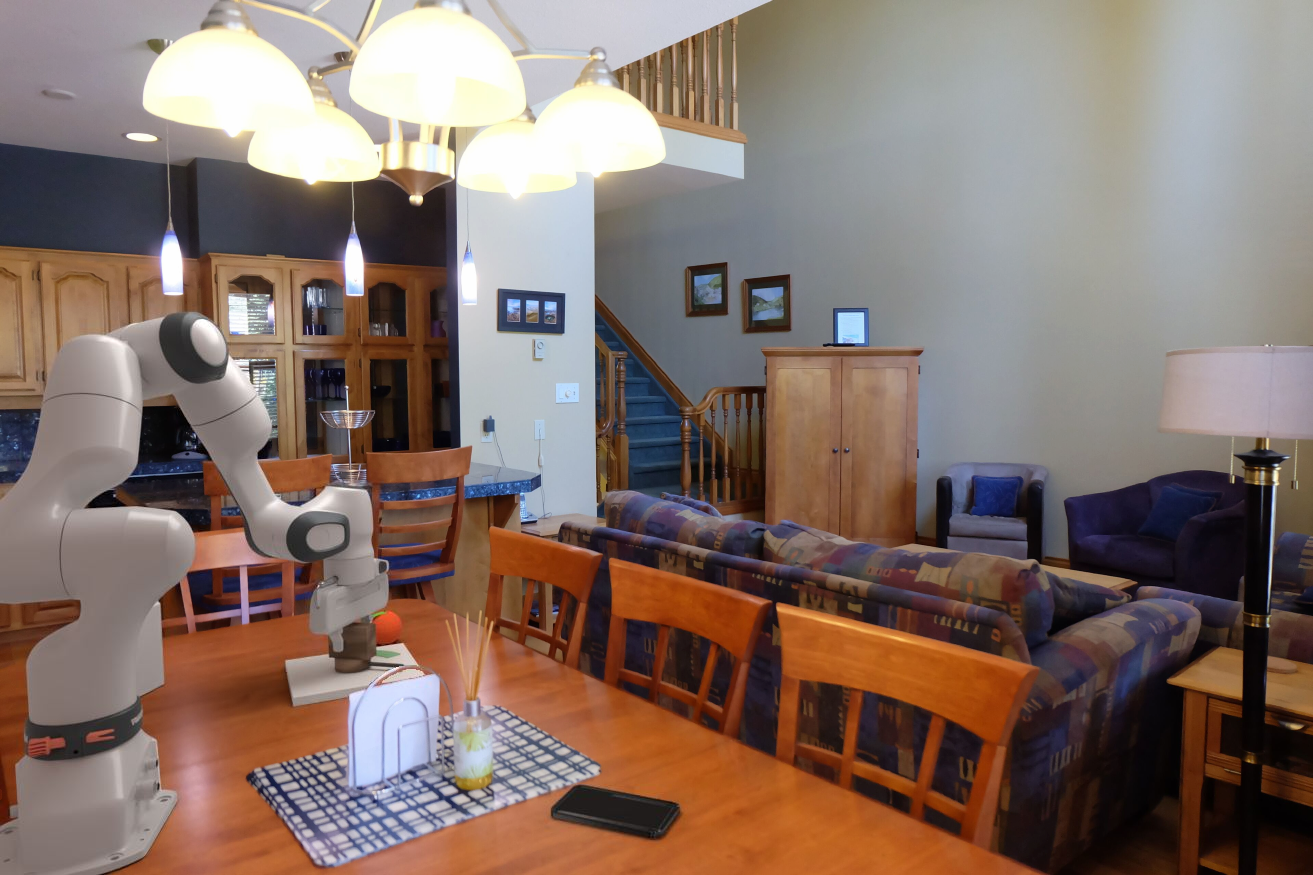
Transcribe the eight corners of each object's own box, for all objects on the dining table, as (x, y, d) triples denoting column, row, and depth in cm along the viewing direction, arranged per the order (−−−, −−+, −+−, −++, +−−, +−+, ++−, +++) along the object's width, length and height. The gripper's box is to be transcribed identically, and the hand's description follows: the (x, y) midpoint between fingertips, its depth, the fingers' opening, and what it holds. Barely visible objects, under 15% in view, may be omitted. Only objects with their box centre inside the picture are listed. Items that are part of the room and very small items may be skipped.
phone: (659, 834, 98) (547, 810, 103) (659, 843, 98) (547, 819, 103) (682, 802, 105) (577, 782, 111) (682, 811, 105) (577, 790, 111)
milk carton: (164, 684, 152) (159, 581, 151) (136, 699, 145) (131, 591, 143) (128, 683, 152) (123, 581, 151) (98, 698, 145) (93, 590, 144)
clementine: (375, 652, 169) (374, 618, 168) (356, 646, 173) (355, 612, 172) (409, 643, 175) (408, 609, 174) (390, 637, 179) (389, 604, 179)
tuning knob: (393, 676, 150) (392, 632, 149) (323, 671, 153) (322, 628, 152) (411, 664, 156) (410, 622, 155) (344, 659, 159) (342, 618, 158)
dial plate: (425, 683, 150) (425, 674, 150) (293, 706, 140) (292, 696, 140) (403, 650, 170) (403, 642, 170) (285, 667, 160) (285, 659, 160)
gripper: (330, 584, 143) (333, 663, 144) (393, 560, 163) (395, 629, 164) (298, 583, 144) (301, 661, 145) (364, 558, 164) (367, 627, 165)
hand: (351, 644), depth 155 cm, fingers open, 6 cm apart
